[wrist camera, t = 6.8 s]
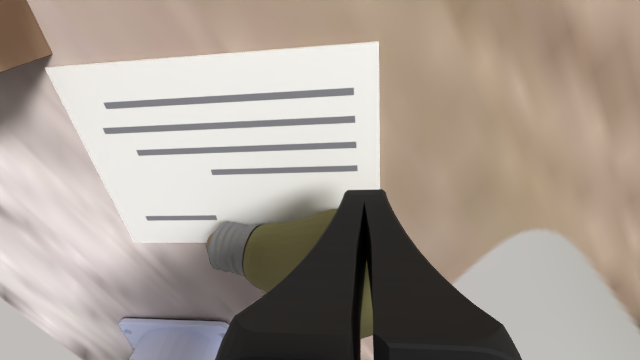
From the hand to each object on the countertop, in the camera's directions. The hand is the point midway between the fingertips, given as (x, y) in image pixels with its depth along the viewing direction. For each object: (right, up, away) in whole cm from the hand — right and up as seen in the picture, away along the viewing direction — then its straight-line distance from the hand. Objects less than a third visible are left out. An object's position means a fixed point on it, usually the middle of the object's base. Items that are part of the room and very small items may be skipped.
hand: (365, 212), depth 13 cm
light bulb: (-7, -2, +5) cm, 9 cm away
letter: (-6, +2, +4) cm, 7 cm away
